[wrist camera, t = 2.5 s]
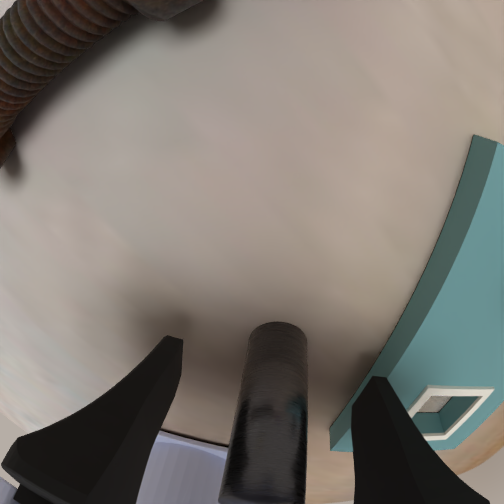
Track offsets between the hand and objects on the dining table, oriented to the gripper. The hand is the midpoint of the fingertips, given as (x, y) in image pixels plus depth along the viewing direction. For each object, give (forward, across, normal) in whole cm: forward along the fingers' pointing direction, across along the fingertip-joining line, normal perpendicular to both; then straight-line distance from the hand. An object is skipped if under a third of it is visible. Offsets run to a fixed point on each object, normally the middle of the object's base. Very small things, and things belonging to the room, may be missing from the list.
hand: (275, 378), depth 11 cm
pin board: (+2, -9, -2) cm, 9 cm away
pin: (+2, 0, 0) cm, 2 cm away
